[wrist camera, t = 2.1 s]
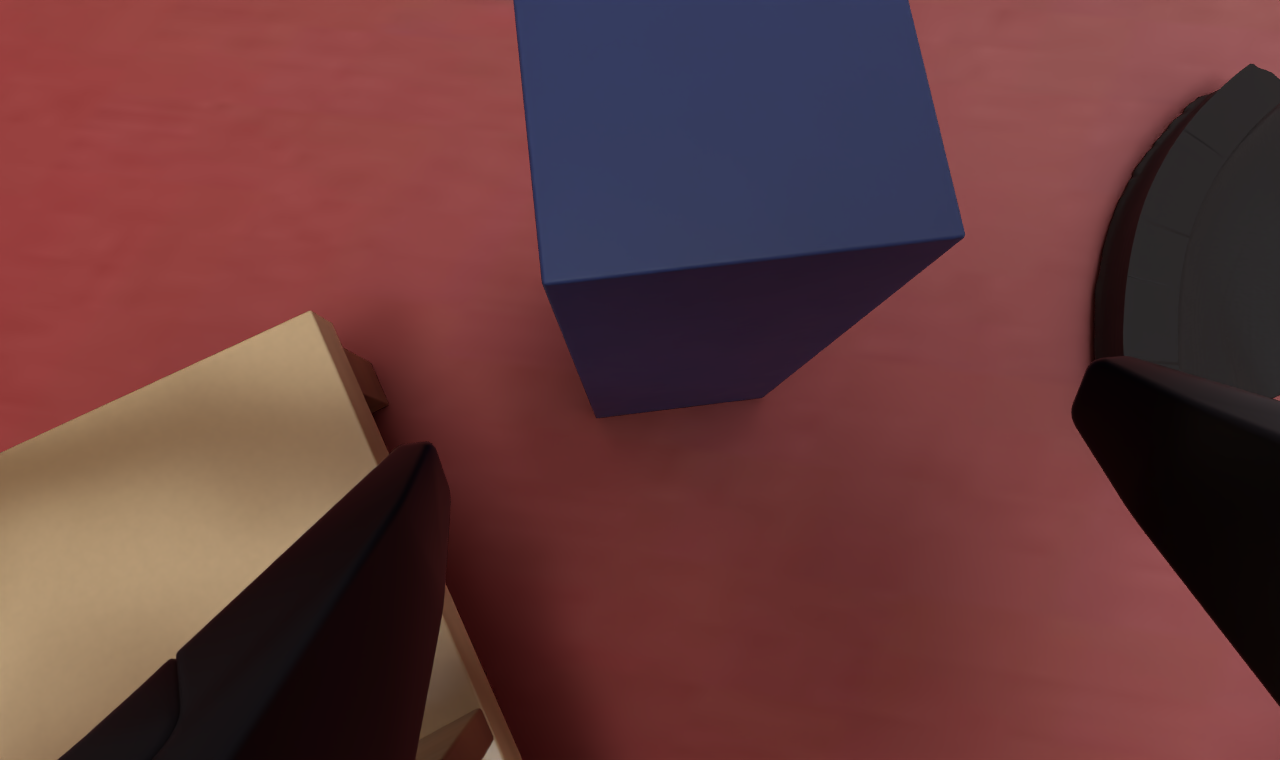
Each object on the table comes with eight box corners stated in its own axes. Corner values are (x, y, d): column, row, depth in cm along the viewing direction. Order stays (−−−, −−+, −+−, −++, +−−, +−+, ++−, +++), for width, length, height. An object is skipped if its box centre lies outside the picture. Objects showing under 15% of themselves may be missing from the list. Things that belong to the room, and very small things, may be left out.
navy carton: (763, 397, 20) (967, 236, 8) (595, 418, 20) (541, 285, 8) (739, 254, 21) (889, -85, 9) (579, 273, 21) (507, -50, 9)
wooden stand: (628, 907, 17) (627, 1205, 10) (290, 1109, 16) (11, 1607, 9) (379, 351, 20) (238, 265, 13) (80, 492, 19) (-258, 486, 12)
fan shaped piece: (985, 349, 21) (1014, 336, 19) (1201, 85, 23) (1244, 53, 21) (1197, 521, 20) (1248, 522, 18) (1403, 228, 22) (1464, 206, 20)
